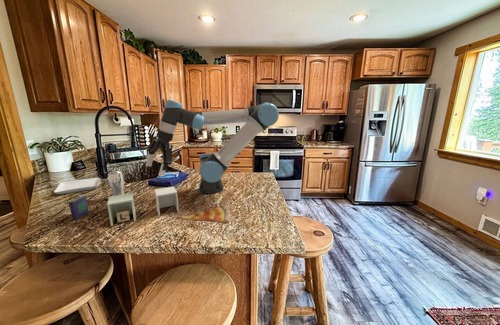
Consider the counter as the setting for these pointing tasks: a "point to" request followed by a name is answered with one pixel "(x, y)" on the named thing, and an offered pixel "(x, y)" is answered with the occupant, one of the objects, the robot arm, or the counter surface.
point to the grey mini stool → (166, 198)
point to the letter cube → (123, 214)
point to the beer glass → (116, 182)
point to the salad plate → (77, 186)
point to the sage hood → (120, 205)
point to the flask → (78, 207)
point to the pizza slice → (212, 215)
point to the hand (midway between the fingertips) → (154, 170)
